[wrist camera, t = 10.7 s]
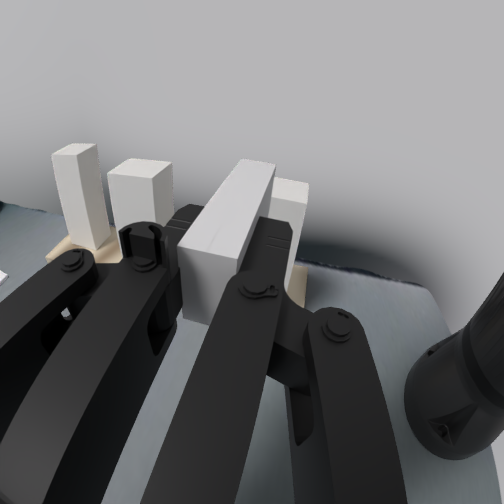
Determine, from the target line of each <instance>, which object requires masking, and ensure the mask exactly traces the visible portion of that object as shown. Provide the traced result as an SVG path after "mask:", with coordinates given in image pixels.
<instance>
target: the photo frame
mask: <svg viewBox="0 0 504 504" xmlns="http://www.w3.org/2000/svg"><path fill="white" fill-rule="evenodd" d="M7 278H8V276H7V274H5V273H4V272H2V271H0V285H1V284H2V283H3V282H4V281H5V280H6V279H7Z"/></svg>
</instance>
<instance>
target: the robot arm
mask: <svg viewBox="0 0 504 504" xmlns="http://www.w3.org/2000/svg"><path fill="white" fill-rule="evenodd" d="M275 170H276V165H275V164H270V163H264V162H258V161H253V160H246V159H241V160H240V161H239V163H238V164H237V165H236V167H235V168H234V169H233V170H232V172H231V173H230V174H229V176H228V177H227V178H226V179H225V181H224V182H223V183H222V185H221V186H220V187H219V189H218V190H217V191H216V193H215V194H214V195H213V197H212V198H211V199H210V201H209V202H208V203H207V205H206V206H205V207H204V206H198V205H193V204H189V205H187V206H185V207H183V208H181V209H179V210H178V211H177V212H176V213H175V214H174V215H173V216H172V218H171V219H170V220H169V221H168V222H167V224H166V226H164V227H163V226H162V225H160V224H157V223H155V222H148V221H142V222H135V223H132V224H129V225H126V226H124V227H123V228H122V229H120V230H119V231H118V233H119V239H120V244H121V249H122V254H123V258H122V259H121V261H120V262H119V263H96V262H95V258H94V255H93V254H92V252H91V251H90V250H87V249H84V248H75V249H71V250H68V251H66V252H64V253H62V254H61V255H59V256H58V257H56V258H55V259H54V260H52V261H51V262H50V263H48V264H47V265H46V266H45V267H43V268H42V269H41V270H39V271H38V272H37V273H36V274H34V275H33V276H32V277H30V278H29V279H28V280H27V281H26V282H24V283H23V284H22V285H21V286H19V287H18V288H17V289H16V290H15V291H13V292H12V293H11V294H10V295H9V296H8V297H6V298H5V299H4V300H3V301H2V302H1V303H0V504H101V502H102V499H103V497H104V494H105V492H106V489H107V487H108V484H109V482H110V479H111V477H112V474H113V472H114V470H115V467H116V465H117V462H118V460H119V458H120V455H121V453H122V450H123V448H124V446H125V443H126V441H127V439H128V436H129V434H130V432H131V429H132V427H133V425H134V423H135V420H136V418H137V416H138V414H139V411H140V409H141V407H142V405H143V402H144V400H145V398H146V396H147V393H148V391H149V389H150V387H151V385H152V382H153V380H154V378H155V376H156V374H157V372H158V369H159V367H160V365H161V363H162V361H163V359H164V356H165V354H166V352H167V350H168V348H169V346H170V344H171V342H172V340H173V337H174V335H175V333H176V329H177V321H176V318H177V316H178V314H179V312H180V310H181V308H182V313H183V318H184V319H188V320H191V321H195V322H199V323H202V324H206V325H210V326H209V329H208V331H207V334H206V336H205V339H204V341H203V344H202V346H201V349H200V351H199V353H198V356H197V358H196V361H195V363H194V366H193V368H192V371H191V373H190V376H189V379H188V381H187V384H186V386H185V389H184V391H183V394H182V396H181V399H180V401H179V404H178V406H177V409H176V411H175V414H174V416H173V419H172V422H171V424H170V427H169V429H168V432H167V434H166V437H165V440H164V442H163V445H162V447H161V450H160V452H159V455H158V458H157V460H156V463H155V465H154V468H153V471H152V473H151V476H150V478H149V481H148V484H147V486H146V489H145V492H144V494H143V497H142V500H141V502H140V504H234V502H235V498H236V495H237V491H238V488H239V484H240V480H241V476H242V473H243V469H244V465H245V461H246V457H247V454H248V450H249V446H250V442H251V438H252V434H253V430H254V425H255V421H256V417H257V413H258V409H259V404H260V400H261V396H262V391H263V387H264V383H265V378H266V375H267V376H269V377H271V378H273V379H275V380H277V381H278V382H280V383H282V384H284V387H285V397H286V407H287V417H288V428H289V439H290V450H291V461H292V473H293V485H294V498H295V504H408V503H407V497H406V491H405V485H404V480H403V475H402V469H401V465H400V460H399V455H398V450H397V446H396V442H395V437H394V433H393V429H392V425H391V421H390V417H389V413H388V409H387V405H386V401H385V398H384V394H383V391H382V387H381V383H380V380H379V377H378V373H377V370H376V366H375V363H374V360H373V357H372V353H371V350H370V347H369V344H368V341H367V338H366V335H365V332H364V329H363V327H362V325H361V323H360V322H359V320H358V319H357V318H356V317H355V316H353V315H352V314H351V313H349V312H347V311H345V310H343V309H340V308H334V307H327V308H321V309H319V310H318V311H316V312H314V313H312V312H310V311H308V310H306V309H304V308H302V307H301V306H299V305H297V304H296V303H295V302H294V301H293V300H291V299H290V297H289V296H288V294H287V293H286V290H285V287H284V280H285V275H286V270H287V264H288V258H289V253H290V247H291V241H292V236H293V230H292V228H291V226H290V224H289V222H286V221H281V220H276V219H271V218H268V215H269V208H270V202H271V196H272V189H273V183H274V176H275ZM66 308H68V310H69V312H70V315H69V316H67V317H63V316H62V314H61V312H62V311H63V310H64V309H66ZM404 402H405V410H406V414H407V418H408V421H409V423H410V426H411V428H412V430H413V432H414V434H415V435H416V437H417V438H418V440H419V441H420V442H421V443H422V444H423V446H424V447H425V448H427V449H428V450H429V451H430V452H432V453H433V454H435V455H437V456H439V457H441V458H444V459H449V460H461V459H465V458H468V457H470V456H472V455H474V454H476V453H478V452H480V451H482V450H483V449H485V448H486V447H488V446H489V445H490V444H491V443H492V442H493V441H494V440H495V439H496V438H497V437H498V436H499V434H500V433H501V432H502V431H503V430H504V273H503V274H502V276H501V277H500V279H499V281H498V282H497V284H496V285H495V287H494V288H493V290H492V291H491V292H490V294H489V295H488V297H487V298H486V300H485V301H484V302H483V304H482V305H481V306H480V308H479V309H478V310H477V312H476V313H475V314H474V316H473V317H472V318H471V320H470V321H469V322H468V324H467V325H466V326H465V327H464V328H463V329H461V330H459V331H458V332H456V333H454V334H453V335H451V336H449V337H447V338H446V339H444V340H442V341H440V342H439V343H437V344H435V345H433V346H432V347H430V348H429V349H428V350H427V351H426V352H425V353H424V354H423V355H422V356H421V357H420V358H419V360H418V361H417V362H416V363H415V364H414V365H413V367H412V368H411V370H410V372H409V374H408V377H407V380H406V384H405V392H404Z"/></svg>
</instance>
